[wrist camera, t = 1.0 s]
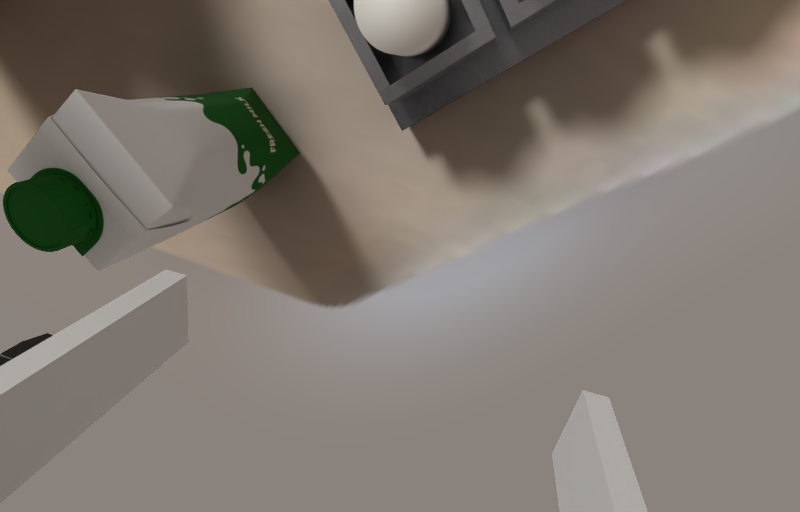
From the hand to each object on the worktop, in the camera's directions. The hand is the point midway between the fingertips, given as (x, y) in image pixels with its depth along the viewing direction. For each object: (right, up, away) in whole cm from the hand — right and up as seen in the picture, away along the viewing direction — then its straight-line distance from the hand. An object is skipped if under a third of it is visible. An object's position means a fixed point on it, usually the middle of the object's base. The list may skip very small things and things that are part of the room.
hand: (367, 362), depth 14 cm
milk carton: (-13, +14, +27) cm, 33 cm away
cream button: (+2, +19, +14) cm, 24 cm away
